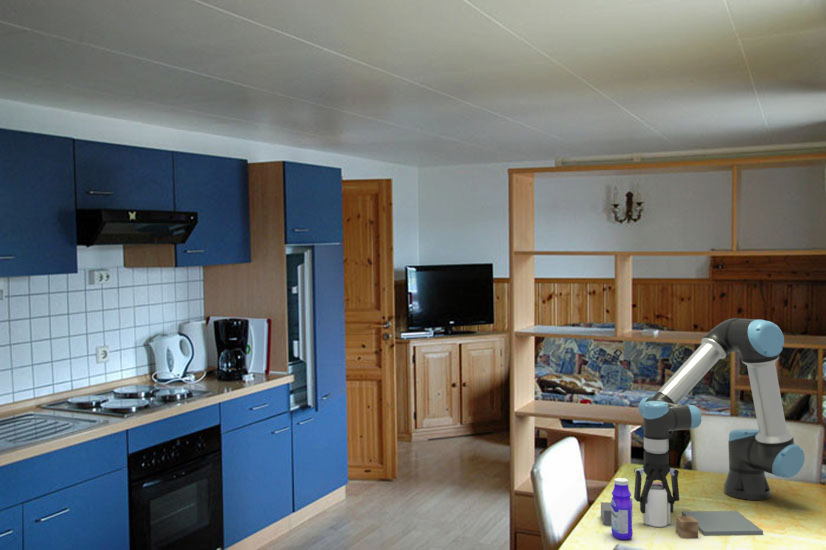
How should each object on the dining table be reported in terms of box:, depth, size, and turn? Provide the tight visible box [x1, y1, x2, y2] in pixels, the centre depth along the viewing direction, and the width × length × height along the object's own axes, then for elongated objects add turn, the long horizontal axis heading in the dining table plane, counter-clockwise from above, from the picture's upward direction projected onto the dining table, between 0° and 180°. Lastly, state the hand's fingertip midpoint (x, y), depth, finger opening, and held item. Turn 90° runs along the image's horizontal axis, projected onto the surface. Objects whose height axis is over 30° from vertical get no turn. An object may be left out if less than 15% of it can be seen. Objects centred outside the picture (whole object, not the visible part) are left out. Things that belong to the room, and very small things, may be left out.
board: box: [681, 510, 764, 536], centre depth 229 cm, size 18×18×1 cm
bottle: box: [610, 477, 634, 540], centre depth 220 cm, size 7×6×17 cm
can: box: [646, 484, 668, 528], centre depth 230 cm, size 6×6×12 cm
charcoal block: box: [600, 502, 611, 527], centre depth 233 cm, size 4×8×5 cm, turn 173°
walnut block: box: [675, 515, 699, 539], centre depth 220 cm, size 5×5×5 cm
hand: (656, 522), depth 230 cm, fingers closed on can, 6 cm apart
